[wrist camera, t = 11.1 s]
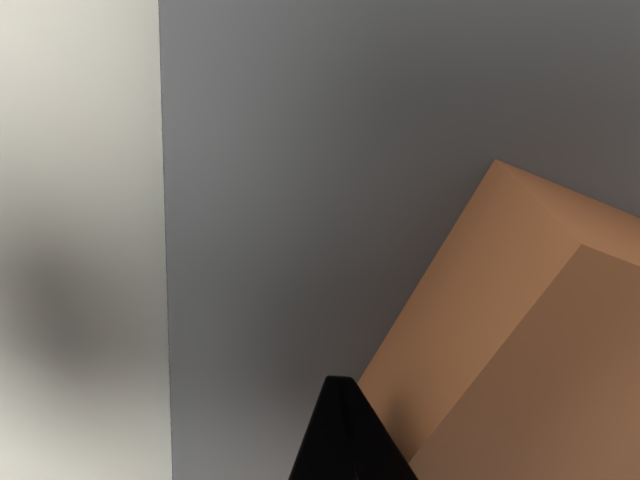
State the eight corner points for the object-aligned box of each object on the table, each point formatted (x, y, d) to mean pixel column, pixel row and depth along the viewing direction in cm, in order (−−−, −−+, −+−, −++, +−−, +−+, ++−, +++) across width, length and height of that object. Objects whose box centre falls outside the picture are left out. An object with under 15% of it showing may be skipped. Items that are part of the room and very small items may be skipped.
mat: (658, 610, 18) (665, 622, 17) (178, 581, 16) (176, 594, 16) (1309, 21, 7) (1357, 23, 7) (161, -198, 6) (152, -209, 6)
